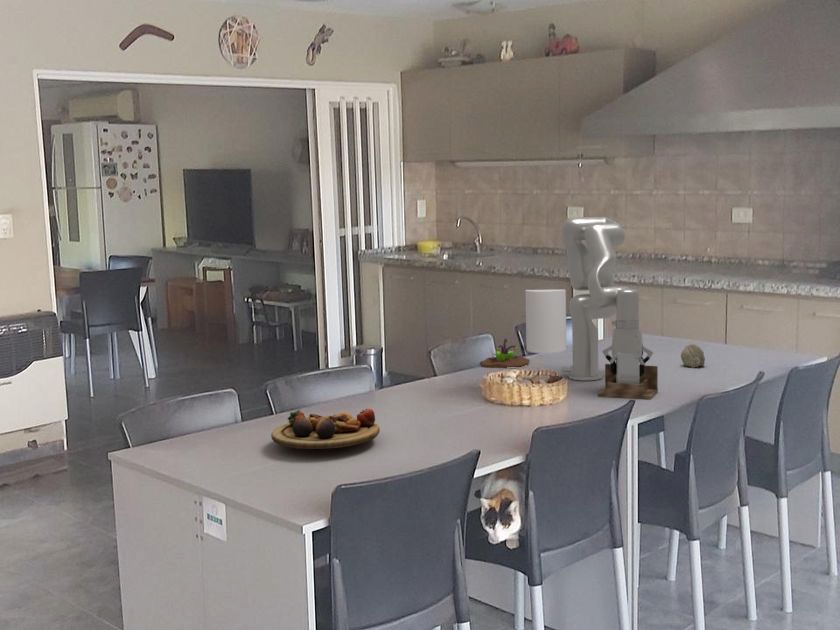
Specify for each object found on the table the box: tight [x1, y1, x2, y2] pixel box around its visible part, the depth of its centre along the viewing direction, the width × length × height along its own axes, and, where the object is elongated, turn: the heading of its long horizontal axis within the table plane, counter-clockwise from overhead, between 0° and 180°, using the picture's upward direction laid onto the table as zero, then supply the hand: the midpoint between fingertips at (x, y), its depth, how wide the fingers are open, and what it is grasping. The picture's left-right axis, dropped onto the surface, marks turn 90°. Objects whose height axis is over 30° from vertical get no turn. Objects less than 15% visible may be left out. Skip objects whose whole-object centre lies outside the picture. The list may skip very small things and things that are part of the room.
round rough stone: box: [680, 343, 706, 369], centre depth 380 cm, size 9×8×10 cm
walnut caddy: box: [597, 363, 659, 400], centre depth 337 cm, size 18×13×9 cm
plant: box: [479, 338, 531, 369], centre depth 400 cm, size 20×20×11 cm
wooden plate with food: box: [271, 408, 381, 450], centre depth 291 cm, size 32×32×8 cm
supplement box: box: [615, 353, 640, 384], centre depth 336 cm, size 7×7×13 cm
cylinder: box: [525, 289, 567, 354], centre depth 426 cm, size 17×17×28 cm
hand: (627, 374), depth 337 cm, fingers closed on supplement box, 8 cm apart
